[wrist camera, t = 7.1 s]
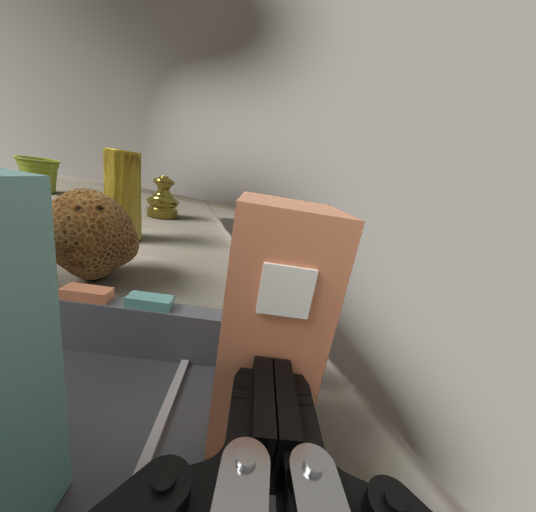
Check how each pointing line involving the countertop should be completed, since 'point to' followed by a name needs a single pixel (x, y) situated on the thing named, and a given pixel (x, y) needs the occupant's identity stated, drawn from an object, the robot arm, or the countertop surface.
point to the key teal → (30, 351)
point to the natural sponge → (92, 233)
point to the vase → (124, 182)
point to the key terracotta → (281, 292)
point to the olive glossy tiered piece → (162, 200)
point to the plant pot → (39, 167)
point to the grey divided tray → (133, 385)
